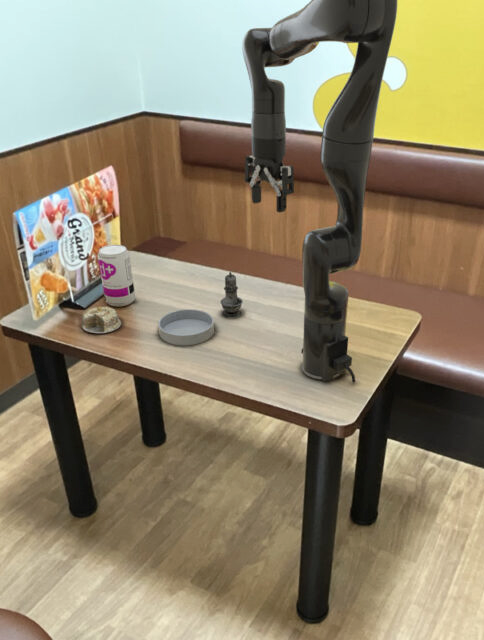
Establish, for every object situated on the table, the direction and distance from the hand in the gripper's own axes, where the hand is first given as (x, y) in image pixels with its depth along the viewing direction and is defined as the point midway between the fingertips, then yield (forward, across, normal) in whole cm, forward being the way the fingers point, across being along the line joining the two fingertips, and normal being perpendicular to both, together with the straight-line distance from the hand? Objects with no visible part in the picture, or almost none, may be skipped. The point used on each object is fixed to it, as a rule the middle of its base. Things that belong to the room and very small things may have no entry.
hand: (268, 207), depth 141 cm
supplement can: (+30, -36, -23) cm, 52 cm away
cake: (+30, -27, -34) cm, 53 cm away
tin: (+30, -10, -19) cm, 37 cm away
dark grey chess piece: (+30, -10, -5) cm, 32 cm away
